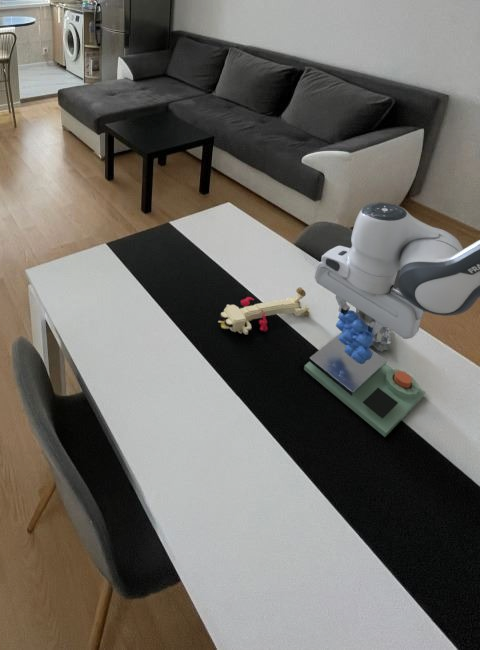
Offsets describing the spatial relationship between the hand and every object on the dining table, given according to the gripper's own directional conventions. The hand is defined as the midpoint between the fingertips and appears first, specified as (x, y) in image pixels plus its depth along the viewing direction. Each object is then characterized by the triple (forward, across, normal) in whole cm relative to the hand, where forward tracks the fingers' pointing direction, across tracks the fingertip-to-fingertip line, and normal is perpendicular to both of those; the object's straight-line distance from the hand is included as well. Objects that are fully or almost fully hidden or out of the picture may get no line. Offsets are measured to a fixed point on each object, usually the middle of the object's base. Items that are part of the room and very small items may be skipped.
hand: (357, 321), depth 95 cm
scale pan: (+13, -3, 0) cm, 13 cm away
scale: (+16, -4, 0) cm, 16 cm away
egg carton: (+16, +2, -16) cm, 23 cm away
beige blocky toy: (+16, +21, +4) cm, 26 cm away
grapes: (+9, -1, 0) cm, 9 cm away
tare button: (+13, -9, -5) cm, 17 cm away
